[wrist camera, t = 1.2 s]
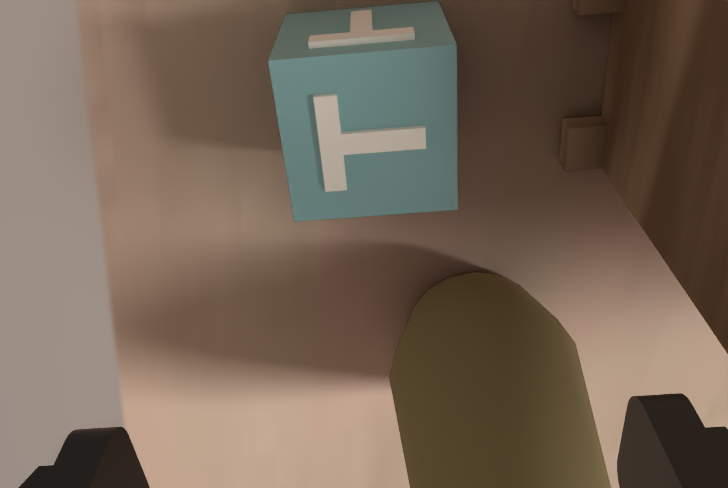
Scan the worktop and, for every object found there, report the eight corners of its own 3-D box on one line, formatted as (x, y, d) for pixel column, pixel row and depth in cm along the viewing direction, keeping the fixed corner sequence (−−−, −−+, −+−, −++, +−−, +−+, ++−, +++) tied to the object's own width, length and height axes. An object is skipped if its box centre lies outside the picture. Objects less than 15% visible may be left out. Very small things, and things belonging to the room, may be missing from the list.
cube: (437, -6, 24) (457, 39, 19) (441, 141, 27) (458, 212, 22) (285, 8, 24) (266, 55, 19) (305, 152, 27) (293, 224, 22)
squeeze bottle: (426, 400, 35) (475, 856, 19) (358, 287, 31) (354, 750, 15) (577, 349, 33) (763, 810, 18) (526, 222, 29) (709, 675, 14)
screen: (724, -62, 23) (1016, 37, 13) (683, 152, 27) (875, 355, 17) (576, -49, 23) (746, 59, 13) (558, 162, 27) (675, 367, 17)
